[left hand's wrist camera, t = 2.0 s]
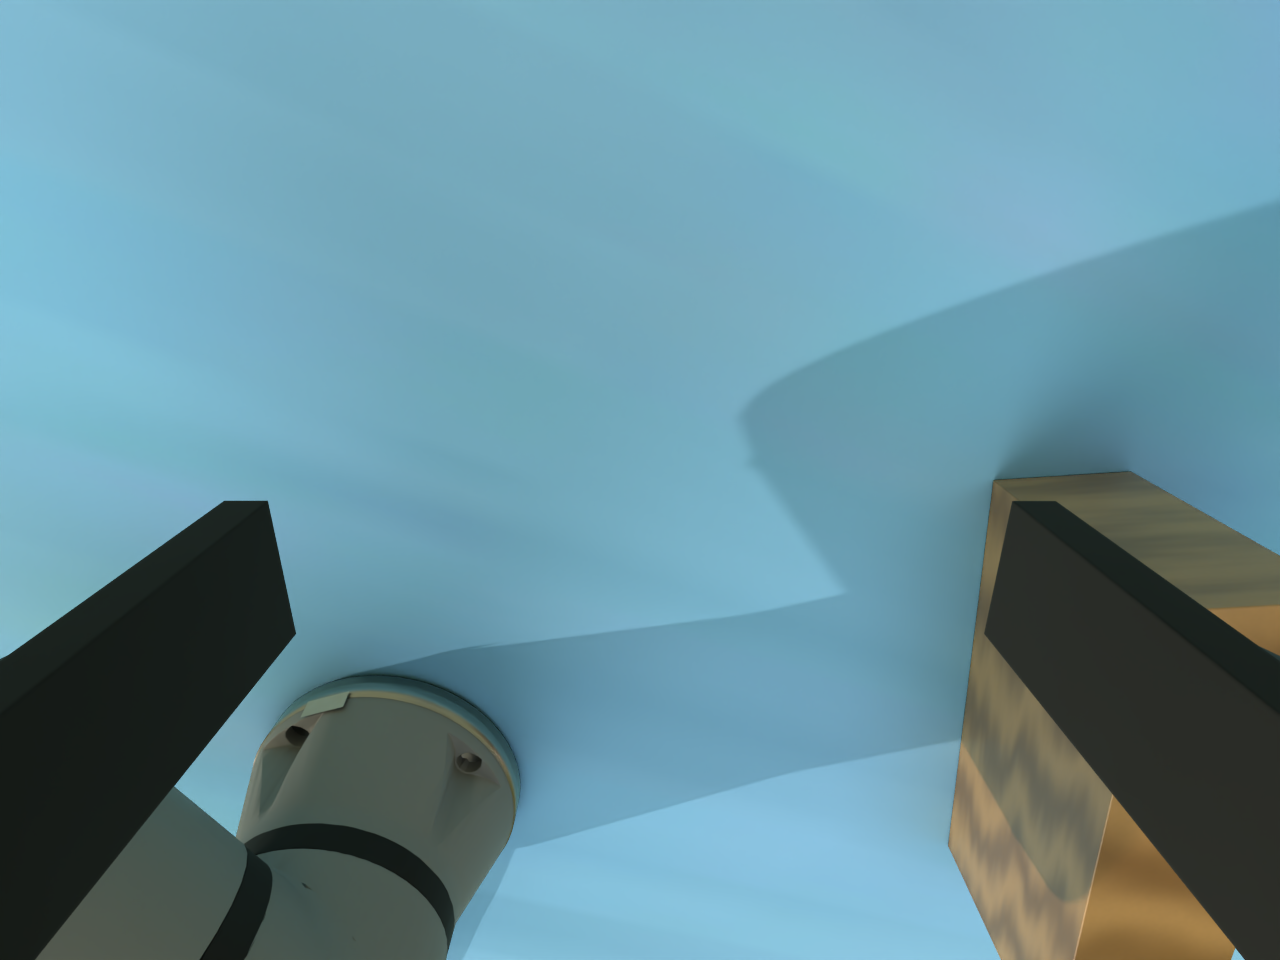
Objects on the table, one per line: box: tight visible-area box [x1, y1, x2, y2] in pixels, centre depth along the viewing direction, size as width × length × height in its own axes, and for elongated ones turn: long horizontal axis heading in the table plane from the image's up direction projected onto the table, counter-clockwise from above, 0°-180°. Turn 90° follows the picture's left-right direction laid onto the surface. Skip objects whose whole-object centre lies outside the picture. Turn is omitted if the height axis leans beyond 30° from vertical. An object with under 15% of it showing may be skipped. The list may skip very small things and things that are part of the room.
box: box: [948, 472, 1280, 960], centre depth 34 cm, size 25×7×12 cm, turn 4°
